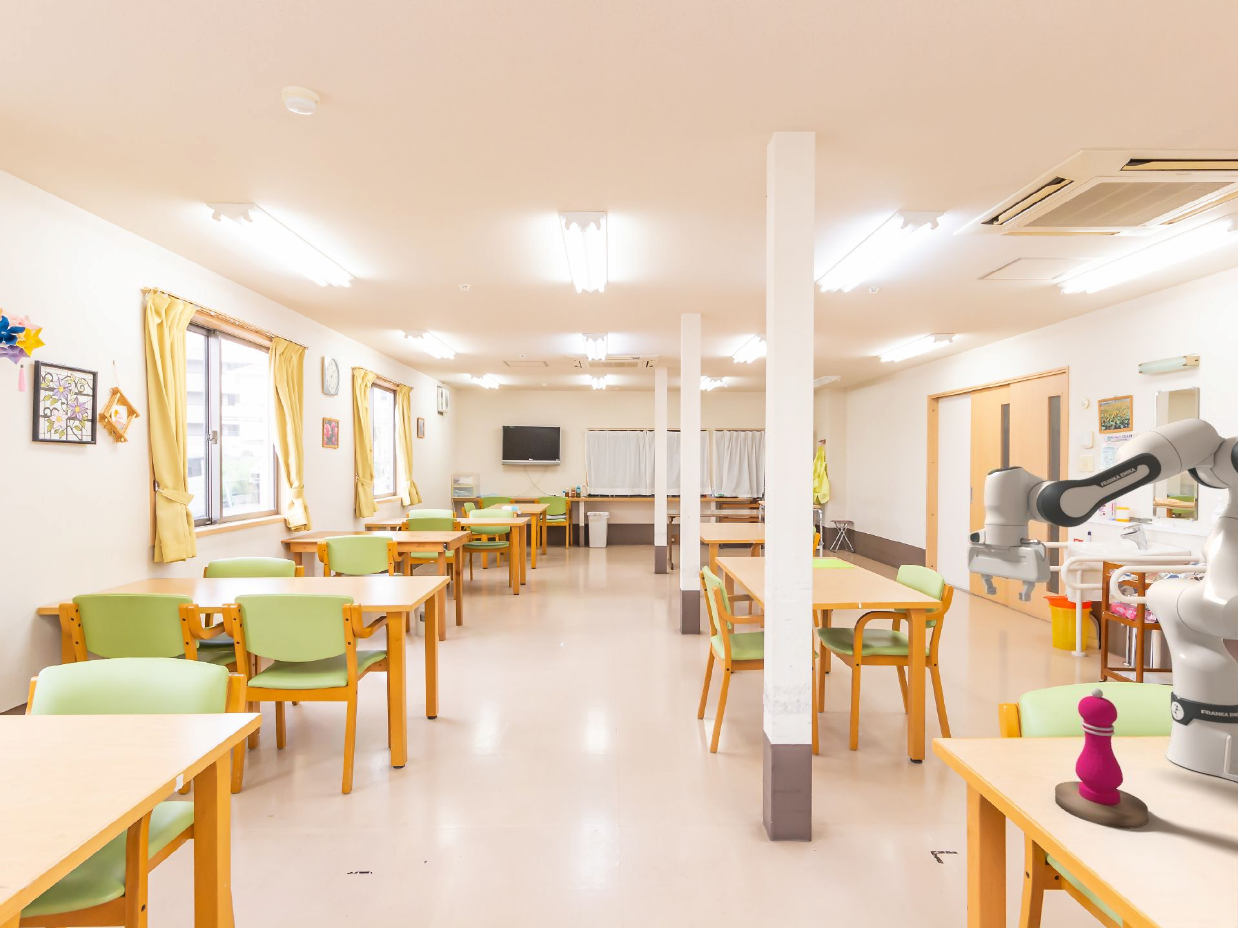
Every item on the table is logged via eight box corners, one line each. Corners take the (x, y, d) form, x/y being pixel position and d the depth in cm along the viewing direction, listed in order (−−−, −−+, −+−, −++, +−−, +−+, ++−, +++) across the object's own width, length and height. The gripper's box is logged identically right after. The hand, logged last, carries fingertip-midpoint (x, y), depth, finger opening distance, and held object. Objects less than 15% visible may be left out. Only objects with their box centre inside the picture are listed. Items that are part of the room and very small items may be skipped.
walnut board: (1117, 793, 132) (1117, 783, 132) (1167, 829, 118) (1167, 818, 118) (1040, 789, 133) (1040, 779, 133) (1081, 825, 119) (1081, 813, 119)
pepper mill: (1081, 785, 131) (1078, 680, 131) (1127, 797, 125) (1124, 688, 126) (1071, 797, 126) (1069, 688, 126) (1119, 810, 120) (1116, 696, 121)
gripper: (1057, 540, 147) (1058, 604, 146) (983, 533, 167) (984, 590, 166) (1034, 540, 145) (1035, 605, 145) (961, 534, 165) (962, 591, 164)
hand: (1007, 597), depth 156 cm, fingers open, 8 cm apart
